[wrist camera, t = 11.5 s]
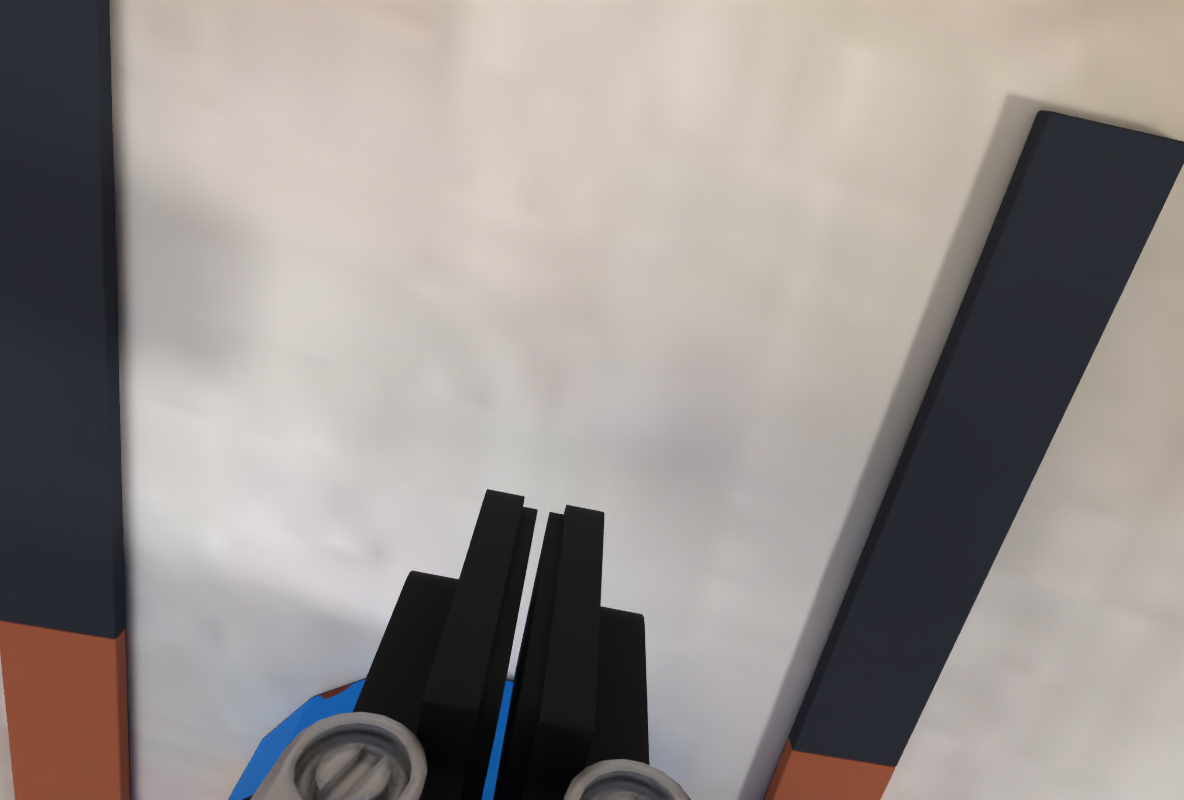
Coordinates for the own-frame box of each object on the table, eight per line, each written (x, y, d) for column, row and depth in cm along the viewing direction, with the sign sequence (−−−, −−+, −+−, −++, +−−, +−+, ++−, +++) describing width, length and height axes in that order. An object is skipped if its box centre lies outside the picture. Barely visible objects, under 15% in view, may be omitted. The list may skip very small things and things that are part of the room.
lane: (-63, -142, 12) (-84, -147, 12) (1178, 141, 14) (1194, 144, 13) (41, 959, 22) (32, 975, 22) (749, 1055, 24) (751, 1071, 23)
